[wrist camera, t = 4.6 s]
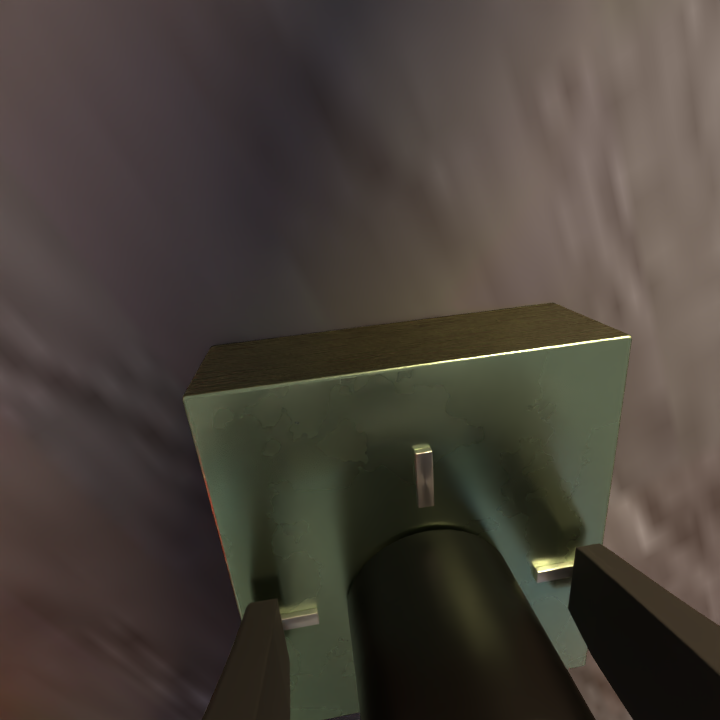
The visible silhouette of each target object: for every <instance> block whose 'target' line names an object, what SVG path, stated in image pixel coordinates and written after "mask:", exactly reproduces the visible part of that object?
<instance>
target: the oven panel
mask: <svg viewBox="0 0 720 720" xmlns="http://www.w3.org/2000/svg"><path fill="white" fill-rule="evenodd" d="M631 342H632V337H631V336H630V335H628V334H626V333H624V332H621V331H619V330H617V329H614V328H612V327H610V326H607V325H605V324H602V323H600V322H598V321H595V320H593V319H591V318H588V317H586V316H584V315H581V314H579V313H576V312H574V311H572V310H569V309H567V308H565V307H562V306H560V305H558V304H555V303H547V304H539V305H531V306H523V307H516V308H508V309H500V310H492V311H484V312H476V313H468V314H460V315H452V316H444V317H437V318H429V319H421V320H413V321H405V322H397V323H389V324H381V325H373V326H366V327H358V328H350V329H342V330H334V331H326V332H318V333H310V334H302V335H294V336H287V337H279V338H271V339H263V340H255V341H247V342H239V343H231V344H223V345H215V346H212V347H211V348H210V349H209V351H208V353H207V355H206V356H205V358H204V360H203V362H202V363H201V365H200V367H199V369H198V371H197V372H196V374H195V376H194V378H193V379H192V381H191V383H190V385H189V386H188V388H187V390H186V392H185V393H184V395H183V398H182V400H183V404H184V407H185V411H186V415H187V419H188V422H189V426H190V430H191V434H192V437H193V441H194V445H195V449H196V453H197V456H198V460H199V464H200V468H201V471H202V475H203V479H204V483H205V486H206V490H207V494H208V498H209V501H210V505H211V509H212V513H213V516H214V520H215V524H216V528H217V532H218V535H219V539H220V543H221V547H222V550H223V554H224V558H225V562H226V565H227V569H228V573H229V577H230V580H231V584H232V588H233V592H234V596H235V599H236V603H237V607H238V611H239V614H240V618H241V622H242V619H243V616H244V612H245V609H246V607H247V606H248V605H249V604H250V603H252V602H258V601H264V600H270V599H276V598H277V599H278V604H279V609H280V614H281V620H282V625H283V630H284V635H285V640H286V645H287V650H288V655H289V660H290V720H325V719H330V718H335V717H339V716H344V715H349V714H354V713H359V712H360V709H359V701H358V692H357V684H356V676H355V667H354V659H353V651H352V643H351V634H350V626H349V618H348V597H349V592H350V589H351V586H352V584H353V582H354V580H355V578H356V576H357V574H358V573H359V571H360V570H361V568H362V567H363V566H364V565H365V564H366V562H367V561H368V560H369V559H370V558H371V557H373V556H374V555H375V554H376V553H377V552H379V551H380V550H381V549H383V548H384V547H386V546H387V545H389V544H391V543H393V542H394V541H396V540H399V539H401V538H403V537H406V536H409V535H412V534H415V533H419V532H423V531H428V530H438V529H451V530H459V531H464V532H468V533H471V534H474V535H477V536H479V537H481V538H483V539H484V540H486V541H488V542H489V543H490V544H492V545H493V546H494V547H495V548H496V549H497V550H498V551H499V552H500V553H501V555H502V556H503V558H504V559H505V561H506V563H507V565H508V566H509V568H510V570H511V572H512V573H513V575H514V577H515V579H516V580H517V582H518V584H519V586H520V588H521V589H522V591H523V593H524V595H525V596H526V598H527V600H528V602H529V603H530V605H531V607H532V609H533V610H534V612H535V614H536V616H537V617H538V619H539V621H540V623H541V625H542V626H543V628H544V630H545V632H546V633H547V635H548V637H549V639H550V640H551V642H552V644H553V646H554V647H555V649H556V651H557V653H558V655H559V656H560V658H561V660H562V662H563V663H564V665H565V667H566V669H571V668H576V667H580V666H584V665H585V663H586V656H587V649H588V647H587V645H586V644H585V642H584V640H583V638H582V636H581V634H580V632H579V630H578V628H577V626H576V624H575V622H574V620H573V618H572V616H571V614H570V612H569V610H568V604H569V596H570V588H571V581H572V573H573V565H574V558H575V550H576V547H580V546H586V545H592V544H598V543H600V544H601V545H603V538H604V531H605V524H606V517H607V510H608V503H609V496H610V489H611V482H612V475H613V468H614V461H615V454H616V447H617V440H618V433H619V426H620V419H621V412H622V405H623V398H624V391H625V384H626V377H627V370H628V363H629V356H630V349H631Z"/></svg>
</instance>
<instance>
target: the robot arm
mask: <svg viewBox="0 0 720 720" xmlns="http://www.w3.org/2000/svg"><path fill="white" fill-rule="evenodd" d="M568 610H569V612H570V614H571V616H572V618H573V620H574V622H575V624H576V626H577V628H578V630H579V632H580V634H581V636H582V638H583V640H584V642H585V644H586V645H587V647H588V649H589V651H590V653H591V655H592V656H593V658H594V660H595V661H596V663H597V664H598V666H599V668H600V669H601V671H602V672H603V674H604V675H605V677H606V678H607V680H608V682H609V683H610V685H611V686H612V688H613V689H614V691H615V692H616V694H617V696H618V697H619V699H620V700H621V702H622V703H623V705H624V706H625V708H626V709H627V711H628V712H629V714H630V715H631V717H632V719H633V720H720V626H719V625H717V624H716V623H714V622H713V621H711V620H710V619H708V618H707V617H705V616H704V615H702V614H701V613H699V612H698V611H696V610H695V609H693V608H692V607H690V606H689V605H687V604H686V603H684V602H683V601H682V600H680V599H679V598H677V597H676V596H674V595H673V594H671V593H670V592H669V591H667V590H666V589H664V588H663V587H661V586H660V585H659V584H657V583H656V582H654V581H653V580H651V579H650V578H649V577H647V576H646V575H644V574H643V573H641V572H640V571H639V570H637V569H636V568H634V567H633V566H632V565H630V564H629V563H627V562H626V561H624V560H623V559H622V558H620V557H619V556H617V555H616V554H615V553H613V552H612V551H610V550H609V549H607V548H606V547H604V546H603V545H601V544H600V543H598V544H592V545H586V546H580V547H576V550H575V558H574V565H573V573H572V581H571V588H570V596H569V604H568ZM202 720H290V660H289V655H288V650H287V645H286V640H285V635H284V630H283V625H282V620H281V614H280V609H279V604H278V599H277V598H276V599H270V600H264V601H258V602H252V603H250V604H249V605H248V606H247V607H246V609H245V612H244V616H243V619H242V622H241V625H240V628H239V630H238V633H237V636H236V639H235V642H234V644H233V647H232V650H231V652H230V655H229V657H228V660H227V662H226V665H225V667H224V670H223V672H222V675H221V677H220V679H219V681H218V684H217V686H216V688H215V691H214V693H213V695H212V698H211V700H210V702H209V705H208V707H207V709H206V712H205V714H204V716H203V718H202Z"/></svg>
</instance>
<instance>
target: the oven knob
mask: <svg viewBox="0 0 720 720" xmlns="http://www.w3.org/2000/svg"><path fill="white" fill-rule="evenodd" d="M348 618H349V626H350V634H351V643H352V651H353V659H354V667H355V676H356V684H357V692H358V701H359V709H360V717H361V720H595V718H594V716H593V714H592V713H591V711H590V709H589V707H588V706H587V704H586V702H585V700H584V699H583V697H582V695H581V693H580V692H579V690H578V688H577V686H576V684H575V683H574V681H573V679H572V677H571V676H570V674H569V672H568V670H567V669H566V667H565V665H564V663H563V662H562V660H561V658H560V656H559V655H558V653H557V651H556V649H555V647H554V646H553V644H552V642H551V640H550V639H549V637H548V635H547V633H546V632H545V630H544V628H543V626H542V625H541V623H540V621H539V619H538V617H537V616H536V614H535V612H534V610H533V609H532V607H531V605H530V603H529V602H528V600H527V598H526V596H525V595H524V593H523V591H522V589H521V588H520V586H519V584H518V582H517V580H516V579H515V577H514V575H513V573H512V572H511V570H510V568H509V566H508V565H507V563H506V561H505V559H504V558H503V556H502V555H501V553H500V552H499V551H498V550H497V549H496V548H495V547H494V546H493V545H492V544H490V543H489V542H488V541H486V540H484V539H483V538H481V537H479V536H477V535H474V534H471V533H468V532H464V531H459V530H451V529H438V530H428V531H423V532H419V533H415V534H412V535H409V536H406V537H403V538H401V539H399V540H396V541H394V542H393V543H391V544H389V545H387V546H386V547H384V548H383V549H381V550H380V551H379V552H377V553H376V554H375V555H374V556H373V557H371V558H370V559H369V560H368V561H367V562H366V564H365V565H364V566H363V567H362V568H361V570H360V571H359V573H358V574H357V576H356V578H355V580H354V582H353V584H352V586H351V589H350V592H349V597H348Z"/></svg>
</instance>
